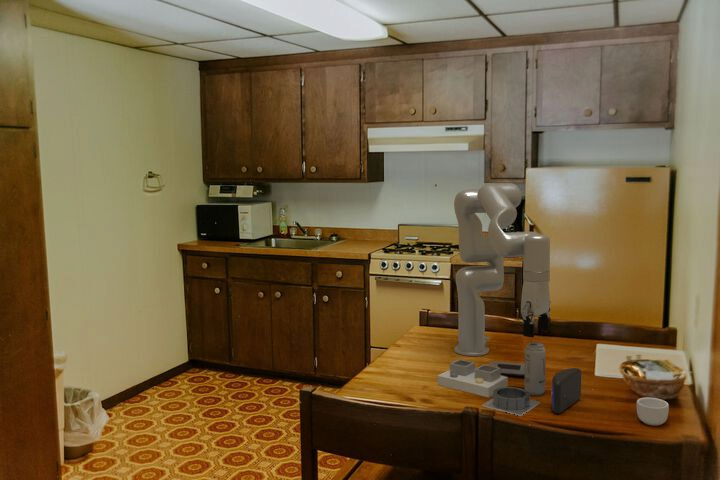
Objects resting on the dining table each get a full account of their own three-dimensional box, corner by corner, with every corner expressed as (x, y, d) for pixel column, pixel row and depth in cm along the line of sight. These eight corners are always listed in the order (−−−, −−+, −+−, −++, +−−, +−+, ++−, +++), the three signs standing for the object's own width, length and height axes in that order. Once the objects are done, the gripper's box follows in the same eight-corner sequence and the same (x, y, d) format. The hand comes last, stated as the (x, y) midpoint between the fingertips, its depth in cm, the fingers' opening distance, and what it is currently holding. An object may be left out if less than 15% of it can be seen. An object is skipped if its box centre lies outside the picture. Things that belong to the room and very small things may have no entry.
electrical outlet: (530, 370, 213) (530, 363, 213) (528, 380, 203) (528, 373, 203) (490, 367, 217) (490, 360, 217) (486, 377, 207) (486, 370, 207)
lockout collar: (502, 394, 191) (502, 383, 190) (540, 403, 183) (540, 391, 182) (482, 406, 182) (482, 394, 181) (520, 416, 174) (520, 404, 173)
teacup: (658, 430, 163) (659, 410, 162) (630, 421, 169) (630, 402, 169) (677, 420, 169) (678, 401, 168) (649, 412, 175) (650, 393, 175)
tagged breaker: (485, 373, 199) (485, 366, 199) (496, 376, 197) (496, 368, 196) (478, 377, 196) (478, 369, 196) (490, 379, 194) (490, 371, 193)
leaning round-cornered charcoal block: (566, 395, 189) (567, 364, 188) (582, 398, 186) (582, 367, 185) (543, 412, 177) (544, 379, 176) (559, 416, 174) (560, 382, 173)
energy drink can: (544, 397, 187) (545, 348, 186) (523, 395, 190) (523, 346, 188) (545, 390, 193) (546, 342, 191) (525, 388, 195) (525, 340, 193)
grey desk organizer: (458, 374, 209) (458, 357, 208) (507, 386, 197) (507, 367, 196) (437, 384, 200) (437, 366, 199) (488, 397, 188) (488, 378, 188)
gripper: (537, 271, 196) (537, 326, 198) (510, 279, 183) (510, 337, 185) (561, 273, 191) (560, 329, 193) (535, 281, 178) (535, 341, 180)
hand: (536, 333), depth 189 cm, fingers open, 9 cm apart
